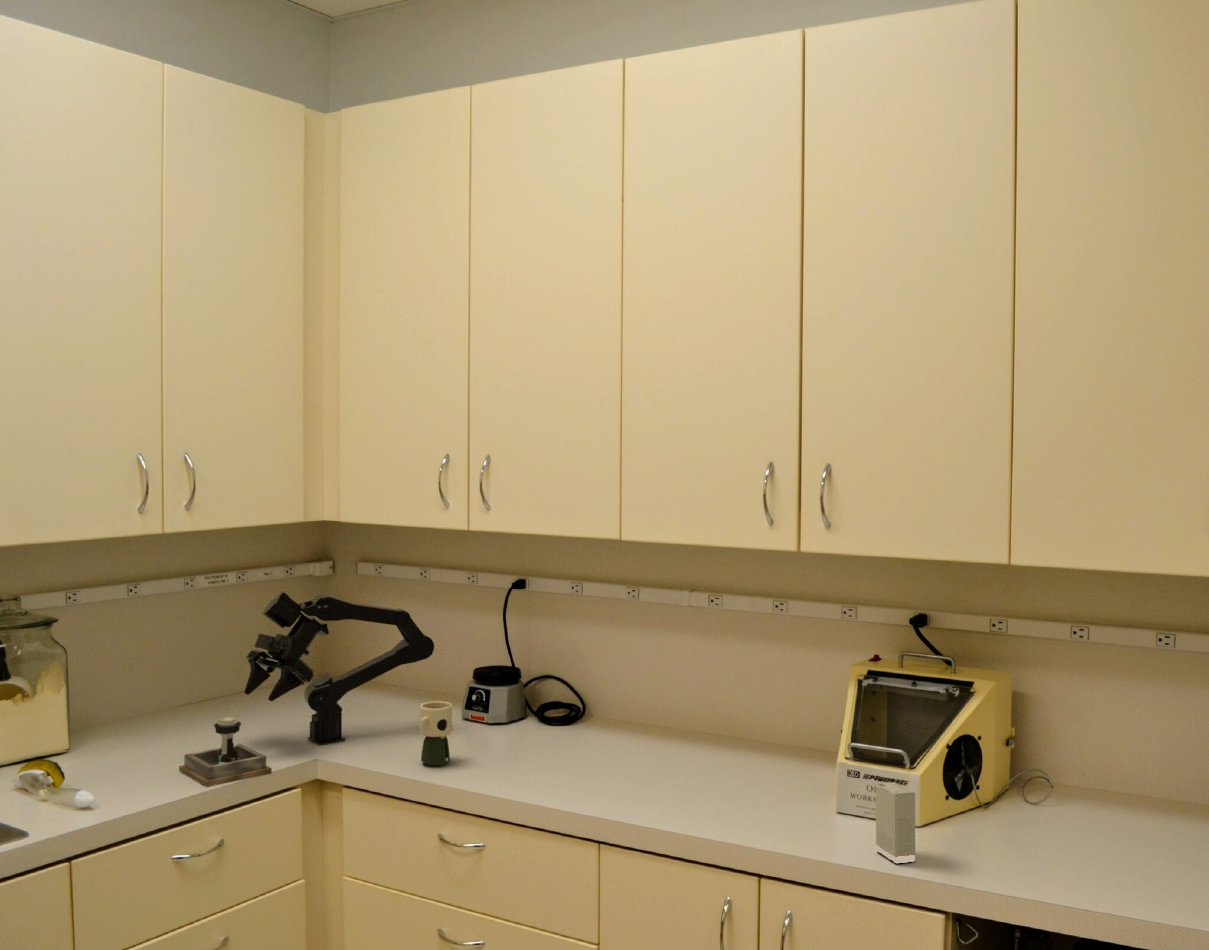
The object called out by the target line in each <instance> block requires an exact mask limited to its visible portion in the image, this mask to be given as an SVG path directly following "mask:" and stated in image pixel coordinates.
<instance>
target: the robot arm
mask: <svg viewBox="0 0 1209 950" xmlns="http://www.w3.org/2000/svg"><path fill="white" fill-rule="evenodd" d="M262 615H263V616H264V617H266V618H267V619H268V620H270V621H271V622H272V623H274V624H275V625H276V626H278V627H279V628H281V629H285V628H290V630H289V631H288V632H287V634H286V635H285V634H281V633H277V634H275V636H272V635H269V634H264V633H258V636H257V639H256V641H255V643H254V648H256V649H251V651H249V653H248V654H247V655H246V659H247V662H248V664H249V665H250V673H249V676H248V680H247V683H246V686H245V688H244V691H243V692H244V694H245V695H247V696H248V695H250V694H252V692H254V691H255V690H256V689H257V688H258V687H259V686H261V685H262V684H263V683H264V682H265V681H267V680H268V679H269V678H270V677H271V676H272V675H271V673H273V672H274V671H275V670H276V669H277V670H279V671H280V676H279V679H278V681H277V682H276V684H275V685H274V687H273V689H272V690H271V692H270V694H269V695H268V698H267V700H268V701H270V702H273V701H275V700H276V699H278V698H280V697H282V696H284V695H285V694H287V693H289V692H290V691H292V690H294V689H296V688H298V687H299V686H304V685H305V683H306V684H308V685H307V686H306V687H305V690H304V692H303V697H304V700H305V702H306V703H307V705H308V706H309V708H310V709H311V710H312V711H314V712H315V713H314V714H311V720H310V722H309V736H308V737H307V740H309V741H311V742H312V743H316V744H318V745H321V746H322V745H326V744H331V743H337V742H341V741H345V740H346V737H344V736H342V735H343V733H342V732H343V731H342V728H343V725H342V724H343V723H342V722H343V721H342V720H343V719H342V718H343V714H342V712H343V707H342V706H341V705H340V704H339V703H338V702H340V700H341V699H342V698H343V697H344V696H345V695H346V694H347V693H349V692H351V691H353V690H354V689H356V688H358V687H360V686H362V685H364V684H367V683H369V682H371V681H372V680H373V679H376V678H378V677H381V676H382V675H384V674H386V673H388V672H389V671H392V670H393V669H395V668H398V667H399V666H401V665H407V664H415V663H417V662H420V661H423V660H426V659H427V660H428V658H430V657H431V656H432V655H433V653H434V650H435V643H434V641H433V640H432V638H431V637H429V636H428V635H426V634H425V633H424V632H422V630H421V629H420V628H419V627H418V625H417V624H416V622H415V621H414V620H413V619H412V617H411V615H410V613H409V612H408V611H406V610H404V608H403V609H402V608H391V607H386V606H385V607H383V606H376V605H371V604H363V603H356V602H351V601H348V600H346V599H342V598H341V597H337V596H334V595H331V594H328V593H319V594H317V595H315V596H314V598H313V599H312V600H307V601H304V602H300V603H297V601H295V600H293V598H291V597H290V596H289V595H288V594H287V593H286V592H285V591H283V590H282V591H280V593H279V594H278V595H277V596H276V597H274V598H273V599H272V600H270V601H269V603H268V604H267V605H266V606H265V607H264V610H263V611H262ZM309 617H310V618H309ZM314 617H316V618H317V619H318V620H317V619H315V618H314ZM319 620H321V621H323V622H334V621H335V622H336V621H339V622H340V621H346V620H355V621H362V622H369V623H376V624H377V623H378V624H383V625H392V626H396V628H397V629H398V631H399V633H400V634H401V636H402V638H403V639H401V640H400V641H399V642H398V643H397V644H396V645H395V646H394V647H393V648H392V649H390V650H388V651H386V652H384V653H382V654H381V655H378V656H377V657H376V656H375V657H374V658H372V659H370V660H368V661H366V662H365V663H364V662H363V663H362V664H361V665H358V666H356V667H354V668H352V669H351V670H348V671H346V672H343V674H340V675H337V676H331V675H330V674H329V673H328V672H326V673H324V674H323V675H321V676H320V677H318V678H316V679H313V677H314V670H313V669H312V668H311V667H310V666H309V665H308V664H307V663H306V662H305V661H304V660H303V659H301V658H302V657H303V656H308V655H309V653H310V651H309V650H308V649H309V648H310V646H311V644H313V641H315V639H316V637H317V636H318V634H319V635H320V636H322V637H323V636H324V637H325V636H328V635H329V634H330V632H329V628H328V623H321V622H319ZM258 648H260V650H259V649H258ZM261 649H262V650H261ZM264 650H266V651H264ZM310 682H311V683H310ZM309 683H310V684H309ZM336 741H337V742H336Z"/></svg>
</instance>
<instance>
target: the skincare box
mask: <svg viewBox="0 0 1209 950" xmlns="http://www.w3.org/2000/svg"><path fill="white" fill-rule="evenodd" d="M874 792H875V846H876V845H878V846H879V847H880V848H882V849H883V850H884V851H886V852H888V853H889V854H891V855H893V856H895V857H898V856H906V855H907V856H909V855H915V856H916V792H915V791H913V790H911V789H909V788H907V787H904V786H902V785H901V784H899V783H897V782H895V781H893V782H885V783H884V782H883V783H878V784H875V791H874Z"/></svg>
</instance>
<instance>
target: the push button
mask: <svg viewBox="0 0 1209 950" xmlns="http://www.w3.org/2000/svg"><path fill="white" fill-rule="evenodd" d="M237 719H238V718H237V717H234V716H233V717H232V716H228V717H227V716H226V717H221V718H219V719H218V722H216V723H214V725H213V727H214V729H215V733H216V734H219V736H221V747H220V748H221V749H220V756H219V764H222V763H227V762H232V761H237V760H238V751H235V748H233V745H235V744H234V734H237V733H238V732H240V726H241V725H242V723H241V721H238V720H237Z"/></svg>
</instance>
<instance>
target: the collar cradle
mask: <svg viewBox="0 0 1209 950" xmlns="http://www.w3.org/2000/svg"><path fill="white" fill-rule="evenodd" d="M233 748H235V751H238V760H237V761H232V762H227V763H222V764H219V756H220V749H221V747H217V748H213V749H206V750H202V751H197V752H192V753H187V754H186V753H185V754H184V759H183V760H184V762H183V763H184V765H183V764H182V765H179V766H178V771H179V770H180V771H182V772H183V773H182V772H181V773H182V774H184V773H185V774H187V775H188V776H187V775H186V776H187V777H189V776H190V777H192V778H193V779H192V778H191V779H192V780H194V779H195V780H197V781H198V782H197V781H196V782H197V783H199V782H200V783H201V784H200V783H199V784H200V785H202V784H203V786H204V787H205V786H206V787H207V786H208V787H212V785H213V786H216V785H215V784H217V785H221V783H222V784H226V782H227V783H231V782H235V780H236V781H240V780H241V781H242V780H244V779H249V778H254V777H259V776H264V775H268V774H272V773H273V772H272V767H270V766H268V765H267V756H266V755H265V754H263V753H261V752H258V751H256V750H254V749H252V748H250V747H248V746H246V745H244V744H242V743H239V744H234V745H233ZM180 771H179V772H180ZM185 774H184V775H185ZM190 777H189V778H190ZM195 780H194V781H195Z"/></svg>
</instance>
